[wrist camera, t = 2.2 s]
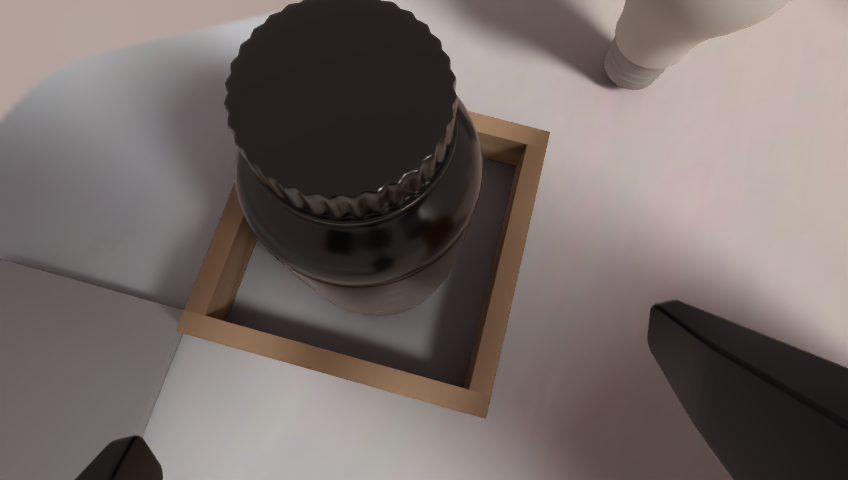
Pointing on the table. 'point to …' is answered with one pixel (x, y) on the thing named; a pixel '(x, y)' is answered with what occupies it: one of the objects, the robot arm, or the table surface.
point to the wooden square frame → (209, 323)
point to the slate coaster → (74, 370)
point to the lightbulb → (673, 33)
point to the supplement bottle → (354, 151)
